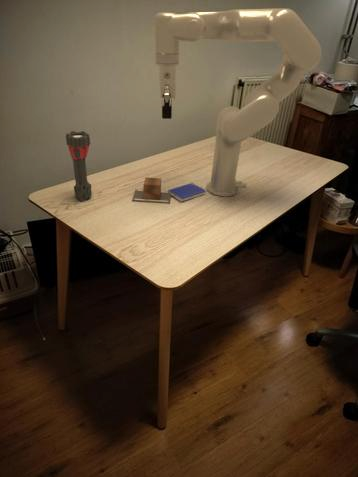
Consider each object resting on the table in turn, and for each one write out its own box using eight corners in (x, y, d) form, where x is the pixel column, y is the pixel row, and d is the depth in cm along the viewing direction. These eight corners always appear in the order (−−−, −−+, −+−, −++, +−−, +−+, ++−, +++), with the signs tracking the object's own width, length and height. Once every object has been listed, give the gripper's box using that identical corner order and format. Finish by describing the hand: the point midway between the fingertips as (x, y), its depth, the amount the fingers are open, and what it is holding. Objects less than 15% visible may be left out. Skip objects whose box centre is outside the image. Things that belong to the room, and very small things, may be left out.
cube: (160, 192, 126) (161, 178, 123) (159, 200, 122) (160, 185, 118) (145, 191, 126) (145, 177, 123) (143, 199, 121) (143, 184, 118)
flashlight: (88, 189, 126) (81, 128, 113) (99, 196, 122) (93, 134, 109) (69, 194, 122) (60, 132, 109) (80, 202, 117) (72, 139, 104)
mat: (171, 192, 128) (171, 191, 128) (170, 203, 121) (170, 202, 120) (135, 190, 128) (135, 189, 128) (132, 201, 120) (132, 200, 120)
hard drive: (191, 182, 133) (167, 189, 125) (206, 190, 128) (181, 198, 121) (191, 185, 133) (167, 193, 126) (205, 193, 129) (181, 202, 122)
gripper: (179, 63, 98) (178, 121, 108) (178, 56, 112) (177, 108, 122) (154, 62, 98) (155, 121, 108) (156, 55, 112) (157, 108, 122)
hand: (166, 114), depth 115 cm, fingers open, 9 cm apart
